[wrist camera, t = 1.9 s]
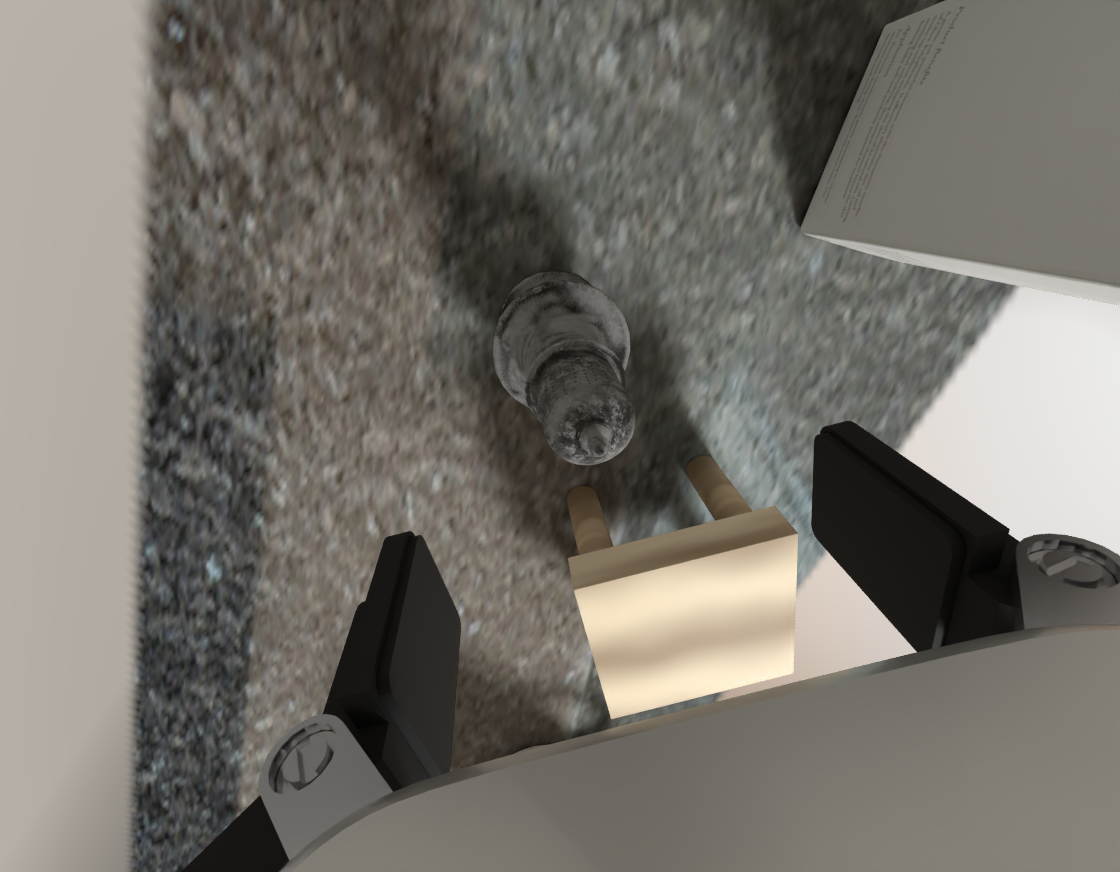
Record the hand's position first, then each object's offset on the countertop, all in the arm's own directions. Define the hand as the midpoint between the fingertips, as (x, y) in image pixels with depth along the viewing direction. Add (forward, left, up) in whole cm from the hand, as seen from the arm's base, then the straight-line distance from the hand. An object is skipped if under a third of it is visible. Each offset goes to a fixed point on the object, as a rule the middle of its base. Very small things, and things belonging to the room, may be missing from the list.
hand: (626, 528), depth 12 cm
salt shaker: (-1, 0, -15) cm, 15 cm away
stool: (+13, +3, -15) cm, 20 cm away
